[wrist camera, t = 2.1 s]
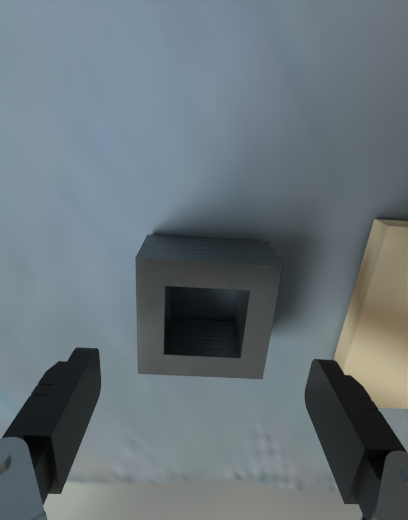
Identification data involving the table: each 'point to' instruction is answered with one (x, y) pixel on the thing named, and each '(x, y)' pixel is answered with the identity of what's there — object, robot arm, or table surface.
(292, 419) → the table surface
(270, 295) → the link
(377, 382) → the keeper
